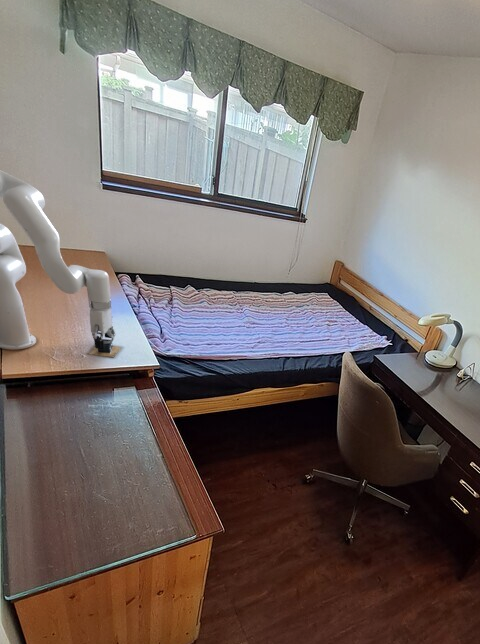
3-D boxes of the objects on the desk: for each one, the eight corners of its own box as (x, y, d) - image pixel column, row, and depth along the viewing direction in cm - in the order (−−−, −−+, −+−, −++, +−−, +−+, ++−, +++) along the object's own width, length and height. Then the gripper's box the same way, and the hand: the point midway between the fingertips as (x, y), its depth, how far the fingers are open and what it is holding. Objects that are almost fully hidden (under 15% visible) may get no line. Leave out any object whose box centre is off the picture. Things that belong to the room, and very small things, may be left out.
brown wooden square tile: (87, 354, 153) (87, 353, 153) (96, 343, 160) (96, 343, 160) (113, 357, 155) (113, 357, 154) (121, 347, 162) (121, 346, 162)
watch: (115, 353, 157) (113, 329, 151) (93, 351, 154) (90, 327, 148) (117, 346, 161) (115, 322, 155) (96, 345, 159) (93, 320, 152)
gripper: (98, 293, 152) (103, 332, 162) (79, 310, 138) (85, 351, 148) (118, 297, 154) (122, 335, 163) (101, 314, 140) (106, 354, 149)
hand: (104, 342), depth 155 cm, fingers open, 9 cm apart
